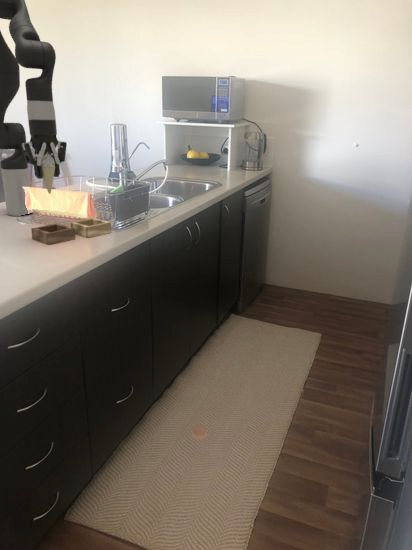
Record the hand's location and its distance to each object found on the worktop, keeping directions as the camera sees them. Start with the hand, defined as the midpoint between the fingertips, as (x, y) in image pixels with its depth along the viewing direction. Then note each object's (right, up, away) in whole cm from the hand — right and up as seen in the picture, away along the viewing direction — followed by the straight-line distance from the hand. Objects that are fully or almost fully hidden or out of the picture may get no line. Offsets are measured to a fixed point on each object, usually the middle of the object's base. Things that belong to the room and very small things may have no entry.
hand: (47, 177), depth 130 cm
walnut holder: (-1, -18, +7) cm, 19 cm away
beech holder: (+9, -15, +15) cm, 23 cm away
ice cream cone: (0, -5, +2) cm, 5 cm away
